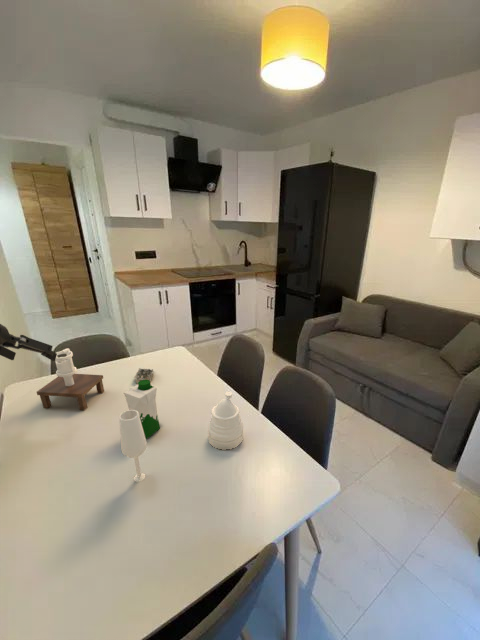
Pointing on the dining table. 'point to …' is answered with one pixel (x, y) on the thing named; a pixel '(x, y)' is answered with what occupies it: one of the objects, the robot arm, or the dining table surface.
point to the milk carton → (144, 405)
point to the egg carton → (143, 375)
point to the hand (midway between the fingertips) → (34, 356)
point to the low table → (71, 389)
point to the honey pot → (225, 425)
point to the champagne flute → (132, 438)
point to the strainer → (65, 367)
